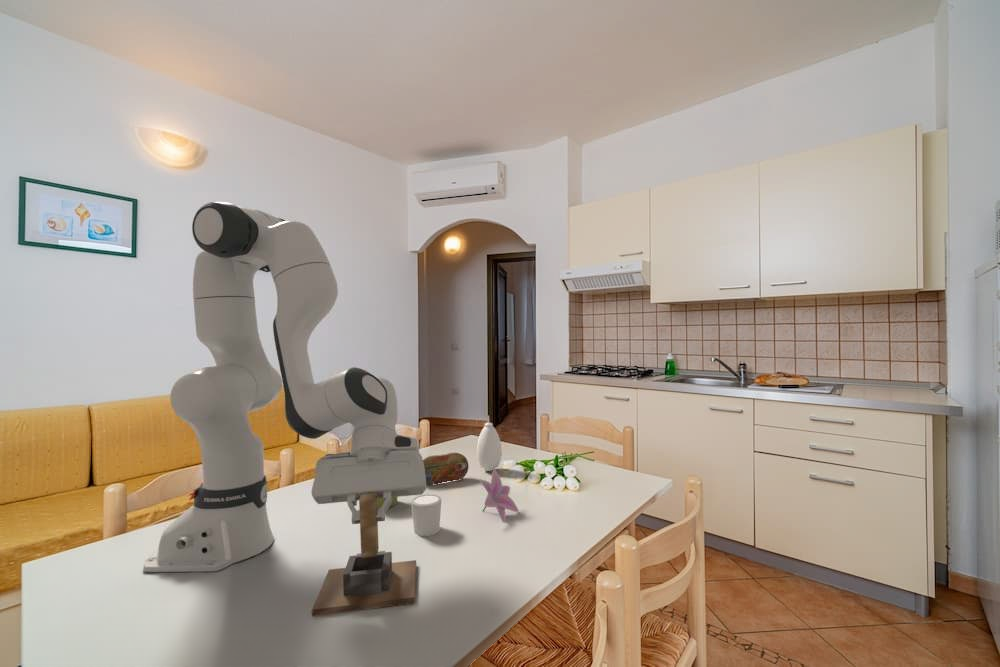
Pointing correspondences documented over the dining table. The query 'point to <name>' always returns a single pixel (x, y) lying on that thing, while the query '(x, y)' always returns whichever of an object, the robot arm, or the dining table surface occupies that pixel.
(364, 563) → the socket board
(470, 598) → the dining table surface
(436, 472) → the tin
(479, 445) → the sauce bottle
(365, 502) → the wooden stick
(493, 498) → the lily
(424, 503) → the white cup
